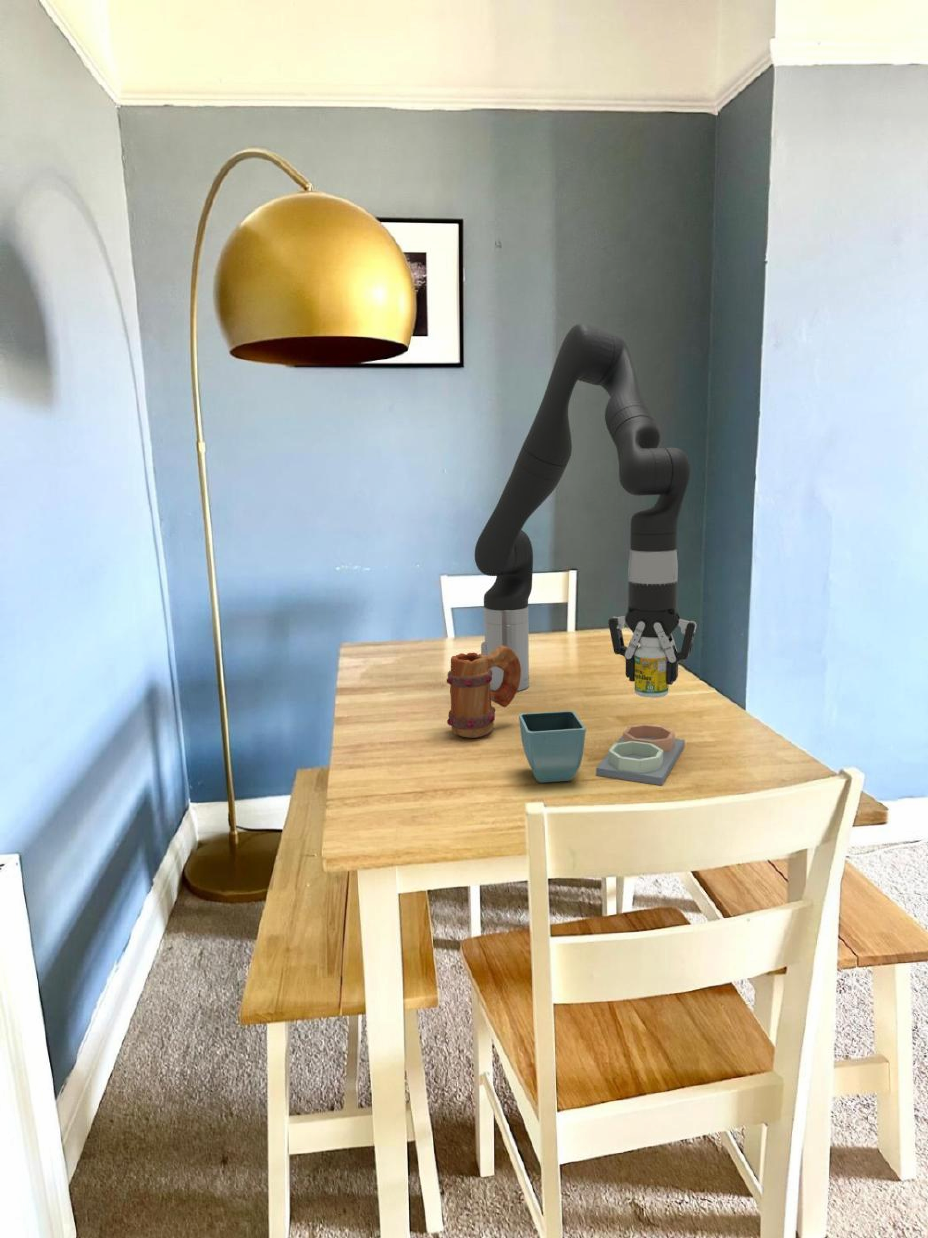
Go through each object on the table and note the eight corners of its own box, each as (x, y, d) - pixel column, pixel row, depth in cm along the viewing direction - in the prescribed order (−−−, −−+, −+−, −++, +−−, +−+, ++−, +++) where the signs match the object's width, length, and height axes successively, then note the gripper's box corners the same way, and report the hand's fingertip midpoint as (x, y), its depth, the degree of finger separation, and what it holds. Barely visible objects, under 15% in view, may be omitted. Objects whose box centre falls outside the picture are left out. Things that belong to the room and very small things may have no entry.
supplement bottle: (675, 694, 127) (676, 636, 125) (651, 700, 124) (652, 641, 122) (650, 686, 132) (651, 630, 130) (627, 692, 129) (627, 635, 127)
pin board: (596, 775, 121) (596, 755, 120) (625, 738, 136) (625, 720, 135) (662, 785, 116) (662, 765, 116) (684, 746, 131) (685, 728, 131)
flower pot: (518, 767, 125) (517, 712, 123) (573, 763, 126) (573, 709, 124) (527, 790, 116) (526, 732, 115) (586, 786, 117) (586, 728, 115)
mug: (458, 746, 134) (455, 660, 131) (437, 731, 142) (434, 650, 139) (531, 730, 141) (530, 648, 138) (508, 717, 148) (506, 639, 145)
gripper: (704, 576, 124) (701, 679, 128) (614, 573, 131) (613, 672, 134) (695, 583, 118) (692, 692, 121) (601, 580, 124) (601, 684, 127)
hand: (651, 681), depth 128 cm, fingers closed on supplement bottle, 5 cm apart
